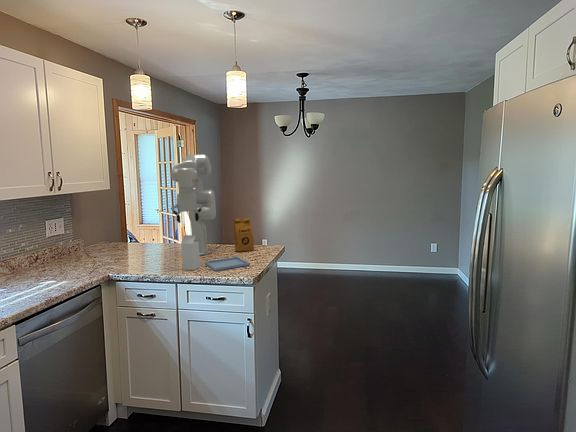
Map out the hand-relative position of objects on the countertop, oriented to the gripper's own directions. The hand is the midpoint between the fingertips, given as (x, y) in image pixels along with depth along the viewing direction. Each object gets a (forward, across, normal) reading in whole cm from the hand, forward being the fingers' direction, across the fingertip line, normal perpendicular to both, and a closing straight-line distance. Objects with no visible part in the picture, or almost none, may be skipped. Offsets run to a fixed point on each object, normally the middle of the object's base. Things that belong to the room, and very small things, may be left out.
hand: (188, 221), depth 216 cm
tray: (+27, -19, +4) cm, 33 cm away
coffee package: (+26, -42, -28) cm, 57 cm away
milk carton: (+27, 0, -1) cm, 27 cm away
